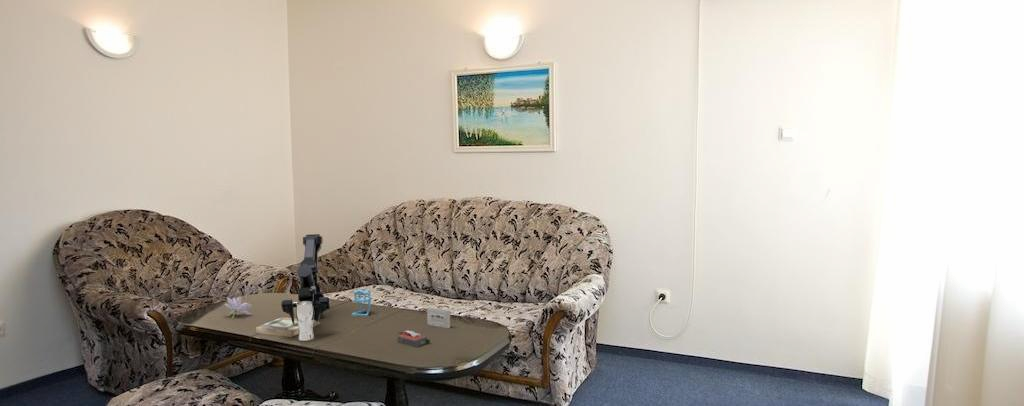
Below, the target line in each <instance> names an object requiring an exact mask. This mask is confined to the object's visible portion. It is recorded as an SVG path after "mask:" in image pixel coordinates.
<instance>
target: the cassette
mask: <svg viewBox="0 0 1024 406" xmlns="http://www.w3.org/2000/svg"><path fill="white" fill-rule="evenodd" d="M426 314H427V315H426V316H427V317H426V318H427V323H426V324H427V325H429V326H434V327H440V328H444V329H445V328H447V329H450V328H451V310H450V309H443V308H438V307H436V308H435V307H431V306H428V307H426ZM438 316H439V317H438Z"/></svg>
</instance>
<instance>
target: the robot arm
mask: <svg viewBox="0 0 1024 406" xmlns="http://www.w3.org/2000/svg"><path fill="white" fill-rule="evenodd" d="M323 240H324V239H323V236H321V234H320V233H313V234H305V236H302V245H303V246H304V257H303V260H301V262H300V264H299V267H298V268H297V272H296V274H297V277H298V282H299V284H300V285H299V288H298V289H297V296H298V297H297V300H298V301H296V302H295V301H294V302H293V299H292V298H291V299H283V300H282V301H281V305H280V306H281V309H282V312H283V313H286V314H288V315H289V316H290V317H289V318H291V319H292V323H293V324H294V319H295V312H294V308H296V303H298V302H301V301H312V302H313V306H314V320H315V321H316V322H320V321H319V320H320V319H323V318H324V316H323V314H324V312H326V311H327V310H330V309H331V301H330V297H329V296H325V294H324V292H323V291H322V288H321V287H320V285H319V284H318V283H319V275H318V274H319V272H320V271H319V252H320V251H321V249H322V244H324V243H323V242H324V241H323Z"/></svg>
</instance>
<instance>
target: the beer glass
mask: <svg viewBox="0 0 1024 406" xmlns="http://www.w3.org/2000/svg"><path fill="white" fill-rule="evenodd" d="M297 302H298V303H296V307H295V313H296V314H295V316H296V319H297V322H298V327H299V334H298V338H297V339H298V340H299V341H301V342H307V341H308V342H309V341H312V340H313V339H314V338H315V335H314V330H313V329H314V327H313V321H314V320H315V319H314V306H313V302H312V301H301V302H299V301H297Z"/></svg>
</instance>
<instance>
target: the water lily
mask: <svg viewBox="0 0 1024 406" xmlns="http://www.w3.org/2000/svg"><path fill="white" fill-rule="evenodd" d="M226 300H227V302H228V303H224V306H225V307H226V308H229V309H231V311H230V315H232V317H231V320H234V319H235V315H236V313H241V314H243V315H246V316H251V315H253V314H252V313H251V312H249V311H248V310H247V309H250V308H251V307H252V306H253V305H252V304H250V303H248V302H243V303H242V297H241V296H239V297H237V298H236V299H235V297H233V298H232V299H231V298H229V297H226Z"/></svg>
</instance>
